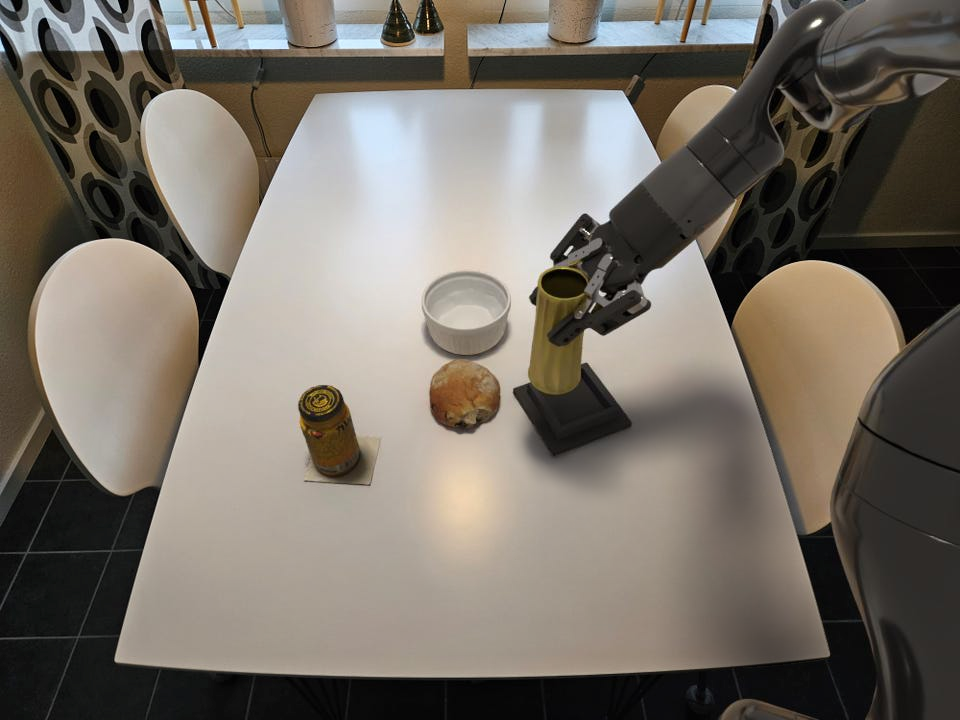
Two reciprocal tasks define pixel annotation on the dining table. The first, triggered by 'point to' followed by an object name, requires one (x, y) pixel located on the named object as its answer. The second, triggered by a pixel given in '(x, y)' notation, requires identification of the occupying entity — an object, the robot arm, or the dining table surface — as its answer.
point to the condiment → (334, 439)
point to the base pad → (573, 413)
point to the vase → (554, 302)
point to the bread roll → (464, 394)
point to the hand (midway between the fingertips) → (543, 322)
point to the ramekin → (466, 310)
